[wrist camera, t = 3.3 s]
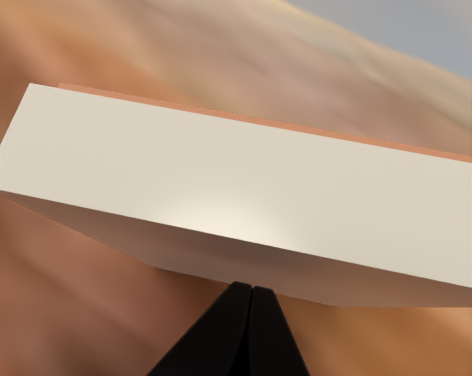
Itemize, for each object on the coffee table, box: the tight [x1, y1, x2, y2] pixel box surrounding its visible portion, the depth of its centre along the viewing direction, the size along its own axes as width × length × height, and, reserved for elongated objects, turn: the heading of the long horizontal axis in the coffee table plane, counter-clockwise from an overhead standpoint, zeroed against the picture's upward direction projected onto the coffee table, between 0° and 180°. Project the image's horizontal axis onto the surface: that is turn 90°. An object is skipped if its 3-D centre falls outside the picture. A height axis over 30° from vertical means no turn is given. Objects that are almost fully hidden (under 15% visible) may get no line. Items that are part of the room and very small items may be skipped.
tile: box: [0, 82, 472, 307], centre depth 11 cm, size 2×9×12 cm, turn 78°
